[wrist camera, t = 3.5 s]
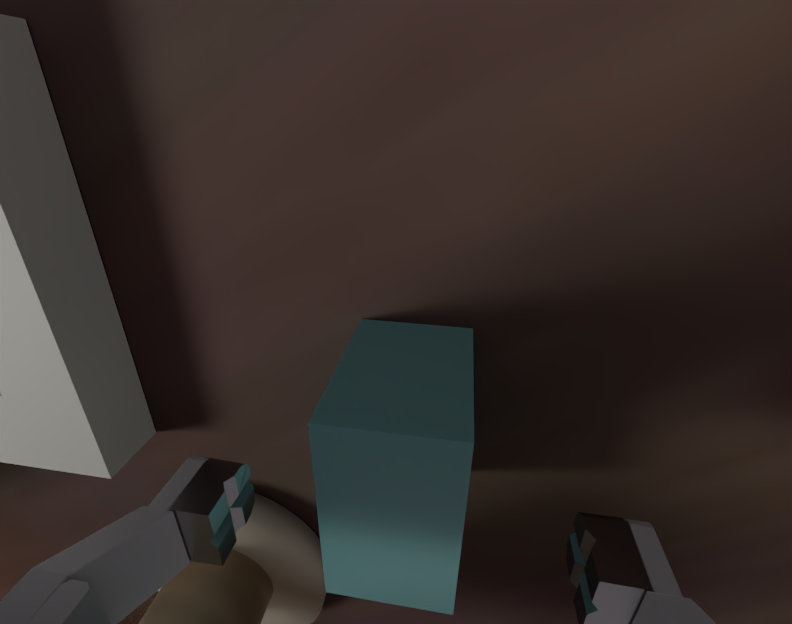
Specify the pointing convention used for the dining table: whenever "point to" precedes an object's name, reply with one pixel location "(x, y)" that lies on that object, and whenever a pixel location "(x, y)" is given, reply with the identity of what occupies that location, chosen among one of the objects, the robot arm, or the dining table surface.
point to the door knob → (251, 577)
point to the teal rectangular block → (395, 463)
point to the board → (55, 296)
